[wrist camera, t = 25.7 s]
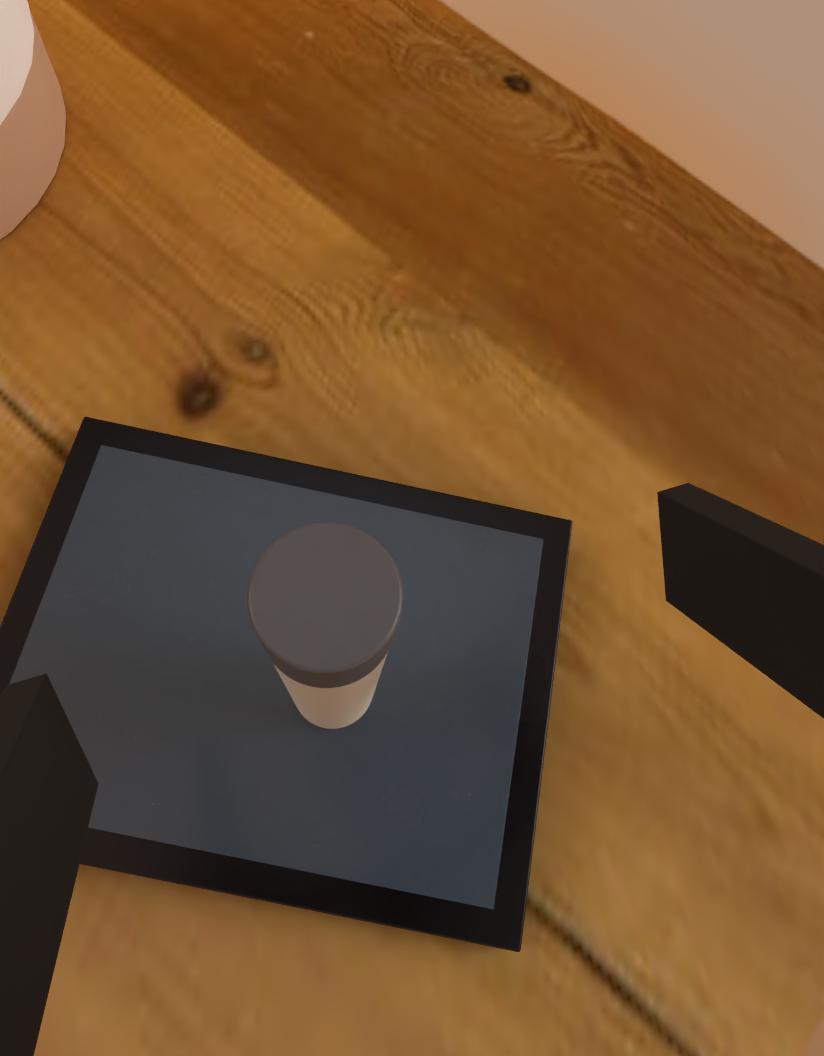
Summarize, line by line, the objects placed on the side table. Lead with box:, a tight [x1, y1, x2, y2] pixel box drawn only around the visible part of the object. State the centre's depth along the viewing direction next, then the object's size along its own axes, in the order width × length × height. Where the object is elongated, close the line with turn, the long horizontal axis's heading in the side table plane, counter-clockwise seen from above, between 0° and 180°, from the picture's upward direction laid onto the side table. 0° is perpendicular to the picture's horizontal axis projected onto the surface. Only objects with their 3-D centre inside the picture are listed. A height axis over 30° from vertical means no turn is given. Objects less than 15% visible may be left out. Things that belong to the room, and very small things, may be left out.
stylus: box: [247, 523, 404, 729], centre depth 18 cm, size 3×3×12 cm
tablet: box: [0, 417, 572, 952], centre depth 24 cm, size 18×14×1 cm
